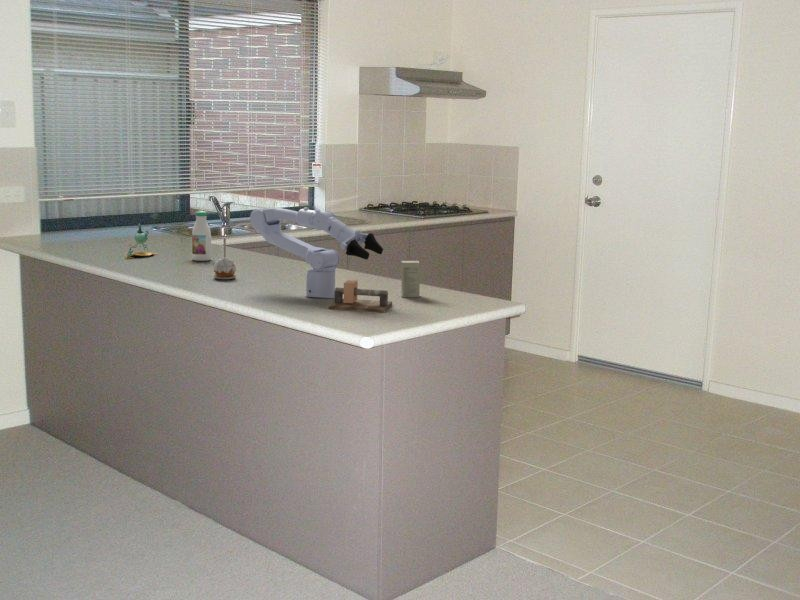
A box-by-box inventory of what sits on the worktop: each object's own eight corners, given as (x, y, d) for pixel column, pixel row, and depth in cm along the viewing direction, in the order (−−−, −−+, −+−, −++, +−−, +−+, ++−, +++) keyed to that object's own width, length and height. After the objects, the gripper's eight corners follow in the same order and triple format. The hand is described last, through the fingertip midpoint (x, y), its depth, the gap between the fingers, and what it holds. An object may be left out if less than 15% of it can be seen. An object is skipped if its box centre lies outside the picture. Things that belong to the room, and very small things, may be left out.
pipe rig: (328, 308, 299) (328, 290, 298) (339, 301, 311) (339, 283, 310) (383, 312, 296) (384, 294, 294) (392, 304, 308) (392, 287, 307)
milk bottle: (202, 257, 394) (201, 210, 390) (215, 259, 390) (214, 211, 386) (188, 259, 388) (187, 211, 384) (201, 262, 384) (200, 213, 380)
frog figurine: (113, 257, 390) (115, 222, 388) (148, 257, 404) (150, 223, 403) (128, 259, 384) (130, 223, 383) (163, 260, 399) (165, 225, 397)
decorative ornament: (239, 279, 347) (239, 239, 344) (220, 281, 342) (220, 240, 339) (229, 276, 353) (228, 236, 350) (210, 277, 348) (210, 237, 345)
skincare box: (418, 295, 325) (420, 260, 323) (419, 297, 321) (420, 262, 319) (400, 295, 325) (401, 260, 323) (400, 297, 321) (401, 262, 318)
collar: (343, 302, 301) (343, 283, 300) (348, 299, 307) (348, 279, 306) (352, 303, 300) (352, 283, 299) (357, 299, 307) (357, 280, 305)
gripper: (333, 227, 304) (365, 248, 298) (360, 219, 315) (391, 239, 310) (328, 246, 307) (359, 267, 302) (354, 237, 318) (385, 257, 313)
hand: (375, 254), depth 306 cm, fingers open, 7 cm apart
